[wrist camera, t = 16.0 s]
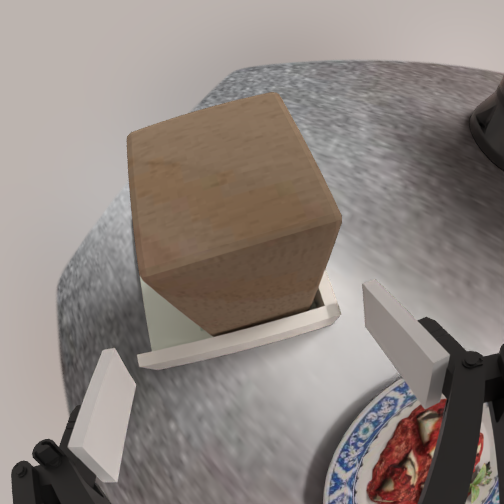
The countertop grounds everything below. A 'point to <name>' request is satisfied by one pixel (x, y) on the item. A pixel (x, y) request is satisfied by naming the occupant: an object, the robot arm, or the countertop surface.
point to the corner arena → (206, 346)
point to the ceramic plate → (401, 453)
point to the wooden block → (231, 214)
